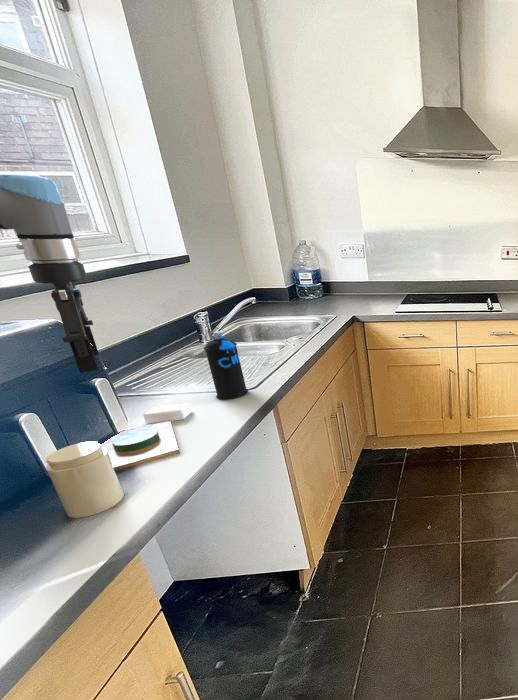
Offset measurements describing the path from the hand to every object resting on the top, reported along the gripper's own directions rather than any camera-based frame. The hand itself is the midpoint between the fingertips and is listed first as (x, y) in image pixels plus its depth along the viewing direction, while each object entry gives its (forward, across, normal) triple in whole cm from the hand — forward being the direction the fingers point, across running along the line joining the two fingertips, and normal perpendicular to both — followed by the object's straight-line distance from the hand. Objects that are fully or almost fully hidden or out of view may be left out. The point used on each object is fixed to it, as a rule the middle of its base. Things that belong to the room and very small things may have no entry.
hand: (90, 362), depth 89 cm
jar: (+22, +21, -4) cm, 31 cm away
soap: (+22, -15, +10) cm, 29 cm away
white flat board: (+22, -1, +3) cm, 22 cm away
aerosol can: (+22, -22, +26) cm, 41 cm away
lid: (+20, -1, +3) cm, 20 cm away
